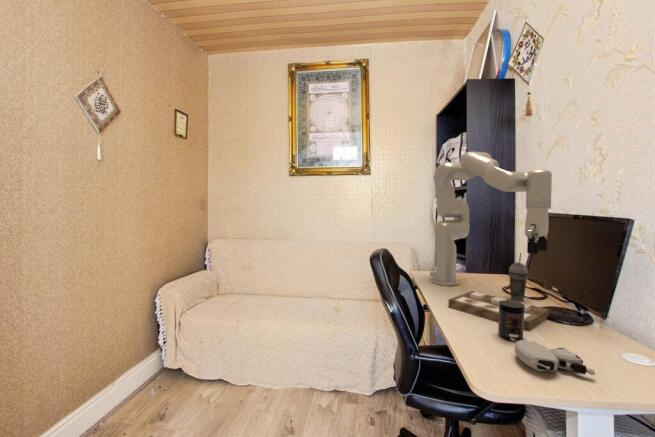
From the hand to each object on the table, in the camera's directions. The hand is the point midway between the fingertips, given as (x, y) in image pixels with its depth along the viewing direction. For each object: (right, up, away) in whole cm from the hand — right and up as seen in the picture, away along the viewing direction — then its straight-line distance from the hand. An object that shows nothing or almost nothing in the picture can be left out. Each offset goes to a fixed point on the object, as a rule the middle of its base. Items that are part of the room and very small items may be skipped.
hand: (537, 252), depth 111 cm
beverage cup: (+4, -22, +18) cm, 29 cm away
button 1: (-16, -21, +11) cm, 28 cm away
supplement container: (-20, -25, -17) cm, 36 cm away
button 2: (-7, -21, -2) cm, 22 cm away
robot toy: (-20, -26, -33) cm, 47 cm away
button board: (-13, -23, +4) cm, 27 cm away
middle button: (-11, -21, +5) cm, 24 cm away
